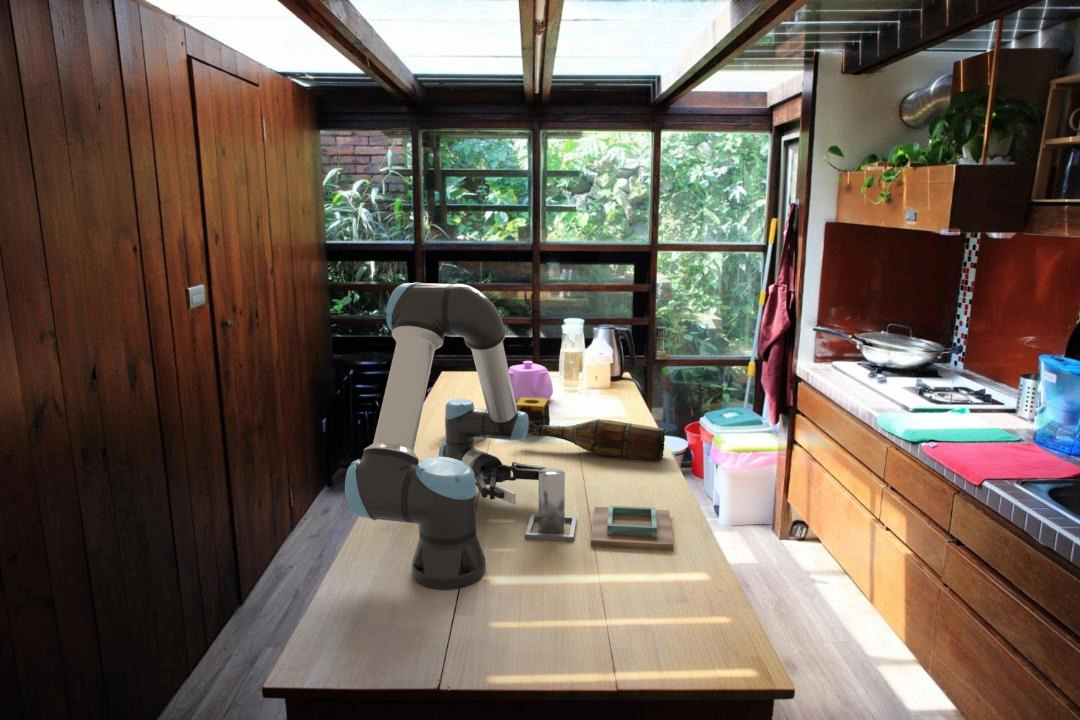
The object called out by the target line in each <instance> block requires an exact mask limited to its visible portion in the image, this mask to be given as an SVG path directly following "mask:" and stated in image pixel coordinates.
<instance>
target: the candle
mask: <svg viewBox="0 0 1080 720" xmlns="http://www.w3.org/2000/svg"><path fill="white" fill-rule="evenodd" d="M516 408H517V411H521V412H525V413H526V414H527V415H528V419H529V421H531V422H533V423H534V424H535V425H536V426H539V425H549V426H551V425H550V422H551V419H550V399H547V398H526V397H521V398H520V400H519V401H518V402H517V403H516ZM532 435H533V436H534V435H536V436H542V437H543V436H544V435H541V434H538V433H534V434H531V435H530V436H532Z"/></svg>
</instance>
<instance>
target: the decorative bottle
mask: <svg viewBox="0 0 1080 720" xmlns="http://www.w3.org/2000/svg"><path fill="white" fill-rule="evenodd" d="M549 425H550V424H549ZM549 425H539V426H536V425H535V424H534V423H533V422H531V421H529V426H528V433H527V436H532V435H531V434H534V433H538V434H541V435H540V436H542V435H543V436H544V437H551V438H556V439H560V440H564V441H567V442H570V443H573V444H574V445H575V446H578V447H580V448H581V449H583V450H585V451H587V452H590V453H592V454H594V455H599V456H609V457H617V458H618V457H619V458H626V459H627V458H630V459H640V460H641V459H642V460H656V461H661V460H663V458H664V451H665V441H666V438H665V432H666V430H665V429H666V428H659V427H655V426H649V425H643V424H637V423H632V422H630V423H629V422H625V421H624V422H623V421H616V420H610V419H601V418H600V419H599V418H598V419H593V420H588V421H584V422H580V423H577V424H573V425H565V426H564V425H562V426H561V425H550V426H549Z"/></svg>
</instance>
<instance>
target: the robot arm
mask: <svg viewBox="0 0 1080 720" xmlns="http://www.w3.org/2000/svg"><path fill="white" fill-rule="evenodd" d="M386 306H387V307H386V314H387V315H386V318H385V319H386V324H387V327H388V329H389V330H390V331H391V337H392V338H393V339H394V340H395V348H394V351H393V357H392V361H391V365H390V370H389V374H388V378H387V382H386V387H385V391H384V395H383V399H382V404H381V408H380V413H379V418H378V421H377V425H376V430H375V433H374V439H373V443H372V444H370V445H369V446H367V447H365V448H364V449H363V454H362V457H361V459H356V460H354V461H352V462H351V463H350V465H349V466H348V467H347V471H346V475H345V481H344V492H345V499H346V502H347V506H348V507H349V509H350V511H351V512H352V514H354V516H357V517H359V518H364V519H370V520H372V521H376V520H383V521H389V522H390V521H391V522H400V523H408V524H409V523H410V524H417V525H418V533H419V534H418V537H419V538H418V542H417V545H416V548H415V552H414V555H413V558H412V562H411V573H412V574H411V576H412V577H413V580H414V581H415V582H416V583H418V584H419V585H421V586H424V587H426V588H430V589H435V590H436V589H437V590H455V589H460V588H464V587H467V586H470V585H472V584H475V583H476V582H478V581H479V580H481V579H482V578H483V577H484V575H485V573H486V570H487V569H486V568H487V566H486V563H487V562H486V557H485V553H484V551H483V547H482V546H481V543H480V540H479V537H478V532H477V490H478V491H479V493H480V496H481V498H483V499H486V498H487V497H488V496H489V500H493V501H494V500H495V498H497V499H500V500H502V501H504V502H507V503H509V504H510V505H516V504H517V502H516V500H517V497H516V496H517V494H516V493H517V492H515V491H512V490H510V489H508V488H505V487H503V486H501V485H499V484H498V485H497V483H503V482H506V481H512V482H514V481H516V480H525V481H528V480H529V481H531V480H532V481H539V471H540V470H542V469H545V468H547V466H540V465H539V466H538V465H532V464H526V463H525V464H524V463H519V462H517V461H512V462H511V465H506V464H503V462H502V461H501V459H500V458H498V457H497V456H494V455H491V454H490V453H487V452H485V451H484V450H483V451H482V450H480V449H477V448H475V442H474V437H478V438H486V439H493V440H503V441H509V442H510V441H523V440H525V439H526V437H527V436H528V435H527V433H528V426H529V419H528V415H527V414H526V413H525V412H521V411H517V408H516V403H515V398H514V394H513V389H512V384H511V379H510V375H509V366H508V360H507V356H506V351H505V347H504V340H505V337H506V331H505V325H504V322H503V320H502V316H501V315H500V313H499V312H498V310H497V309H496V308H497V307H495V305H494V304H493V302H492V301H491V300H490V299H489V298H488V297H487V296H486V295H485V294H484V293H482V292H481V291H480V290H478V289H476V288H475V287H473V286H470V285H468V284H463V283H429V282H428V283H427V282H426V283H424V282H420V281H419V282H417V281H415V282H413V283H410V282H407V283H402V284H400V285H398V286H397V287H395V289H394V290H393V291H392V293H391V294H390V296H389V299H388V301H387V305H386ZM445 336H460V337H461V338H463V339H464V343H465V345H466V346H467V347H468V348H469V349H470V350H471V353H472V357H473V361H474V364H475V369H476V372H477V376H478V377H477V378H478V380H479V384H480V388H481V391H482V395H483V399H484V404H485V406H486V408H484V409H483V408H475V405H474V402H473V400H471V399H466V398H455V399H452V400H449V401H448V402H446V404H445V408H444V409H445V410H444V411H445V414H444V427H446V436H445V441H444V442H443V443H442V444H441V446H440V448H439V451H438V456H437V457H434V456H432V457H427V458H423V459H422V460H420V458H419V457H418V456H417V454H416V453H415V452H414V451H415V445H416V441H417V437H418V436H417V435H418V431H419V426H420V422H421V417H422V414H423V413H422V412H423V407H424V403H425V398H426V393H427V388H428V383H429V379H430V375H431V369H432V365H433V360H434V355H435V351H436V350H437V349H440V348H441V347H442V346H443V345H444V340H445ZM488 486H489V487H488Z"/></svg>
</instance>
